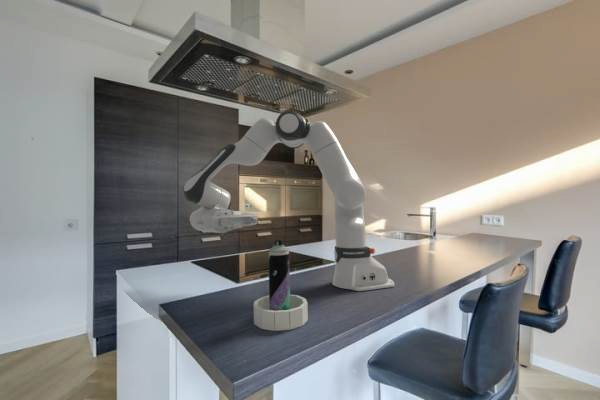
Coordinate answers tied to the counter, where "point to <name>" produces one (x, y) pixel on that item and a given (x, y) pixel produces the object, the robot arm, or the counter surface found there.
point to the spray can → (279, 277)
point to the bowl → (281, 314)
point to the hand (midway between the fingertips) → (245, 221)
